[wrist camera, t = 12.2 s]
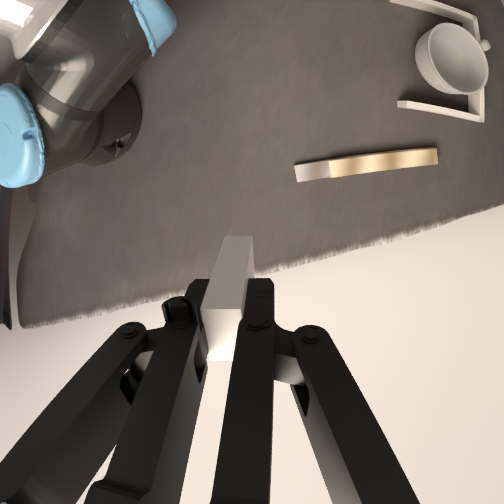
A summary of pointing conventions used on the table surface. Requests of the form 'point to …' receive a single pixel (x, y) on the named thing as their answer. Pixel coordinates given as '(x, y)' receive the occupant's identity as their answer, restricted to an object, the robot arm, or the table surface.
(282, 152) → the table surface
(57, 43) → the robot arm
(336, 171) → the birch bar
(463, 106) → the table surface
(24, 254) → the table surface
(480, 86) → the teacup
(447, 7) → the tray
